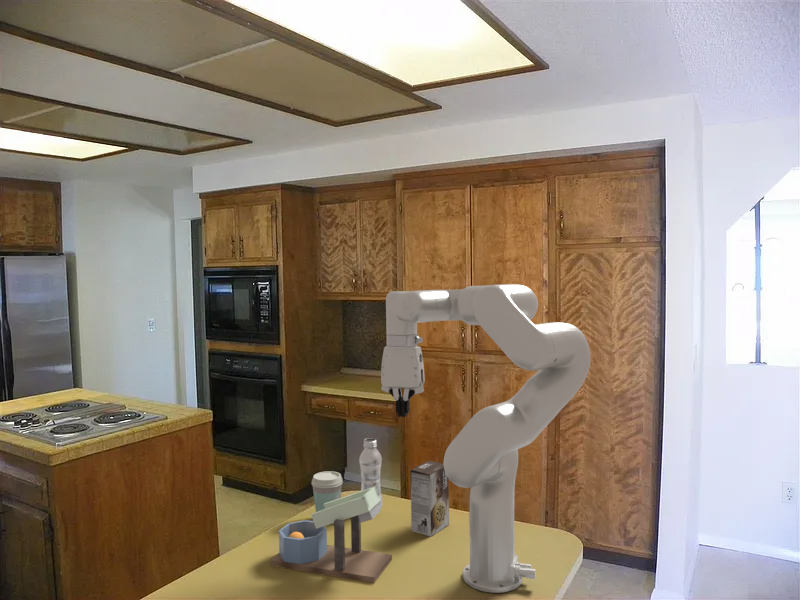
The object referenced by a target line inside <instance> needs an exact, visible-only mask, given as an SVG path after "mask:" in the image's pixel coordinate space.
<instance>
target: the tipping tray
mask: <svg viewBox="0 0 800 600" xmlns="http://www.w3.org/2000/svg"><path fill="white" fill-rule="evenodd" d="M380 500H381V499H380V496H379V494H378V491H377V489H376V486H374V487H372V488H369V489H366V490H363V491H361V490H360V491H358V492H355V493H354V492H353V493H352V494H348V495H346V496H343V497H342V496H341V498H339V499H336V500H333V501H330V502H327V503H325V504H323V505H324V507H325V509H324V510H321V511H318V512H316V511H315V512H312V513H311V514H310V515H311V519H312V521H314V524H315V527H316V529H317V528H320V527H323V526H325V527H326V526H329V525H332V524H334V521H335V520H336V519H338V520H344V521H345V520H347V519H351V517H354V516H357V515H358V517H359V519H360V522H361V523H364V522H368V521H370V520H373V519H374V518H376V516H377V515H378V514H379V513H380V512H382V510H381V509H380V507H379V505H378V502H379V501H380Z"/></svg>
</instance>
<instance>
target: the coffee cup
mask: <svg viewBox="0 0 800 600" xmlns="http://www.w3.org/2000/svg"><path fill="white" fill-rule="evenodd" d="M343 483H344V479H343V476H342V474H341V473H340V472H337V471H332V470H330V471H327V470H325V471H321V472H317V473H315V474H313V477H312V479H311V486H312V491H313V500H314V507H315V512H318V511H321V510H324V509H325V507H324V505H323V504H325V503H327V502H330V501H333V500H336V499H339V498H342V487H343Z"/></svg>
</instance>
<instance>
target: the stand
mask: <svg viewBox="0 0 800 600" xmlns="http://www.w3.org/2000/svg"><path fill="white" fill-rule="evenodd" d="M361 529H362V525H361V522H360V519H359V517H358V515H357V516H354V517H351V518H350V530H351V531H350V533H351V534H350V537H351V538H350V539H351V540H350V541H351V543H350V544H351V548H350V547H345V546H346V545H345V543H346V542H345V540H346V539H345V519H344V520H338V519H336V520H335V521H334V523H333V539H334V540H333V541H334V542H333V543H334V544H333V545H331V544H330V545H329V544H327V553H326V554H325V555H324V556H323V557H322V558H321V559H319V560H318V561H313V562H309V563H304V564H295V563H289V562H284V561H283V559H282V558H281V556H280V554H279V552H277V554H275V555H274V556H273V557H272V558H271V559H270V560H269V565H272V567H276V566H278V567H277V568H282V567H284V568H283V569H288V568H290V569H289V570H293V571H294V570H295V571H302V572H306V573H313V574H319V575H325V576H331V577H336V578H343V579H349V580H355V581H359V582H360V581H361V582H365V583H372V584H375V583H376V582H377V580H378V579H379V578H380V576H381V575H382V574H383V572H384V571H385V570H386V568H387V567H388V566H389V564H391V562H392V561H393V554H392V553H390V554H389V553H384V552H376V551H371V550H370V551H369V550H363V549H362V542H361V541H362V530H361Z"/></svg>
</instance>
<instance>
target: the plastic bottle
mask: <svg viewBox="0 0 800 600" xmlns="http://www.w3.org/2000/svg"><path fill="white" fill-rule="evenodd" d="M377 443H378V441H377V439H376V438H373V437H371V438H365V439H363V448H364V449H363V450H362V451H361V453H360V455H359V457H358V458H359V459H358V460H359V468H360V476H361V477H360V478H361V481H360V482H361V487H360V491H363V490H366V489H369V488H372V487H374V486H376V489H377V491H378V494H379V496H380V499H381V500H380V501H379V502H378V505H379V507H380V510H381V509H382V507H383V502H384V501H383V496H382V495H383V494H382V490H381V488H382V487H381V472H382V471H381V468H382V462H383V458H382V455H381V453H380V451H379V450H378V449H377V448H378V444H377Z"/></svg>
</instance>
